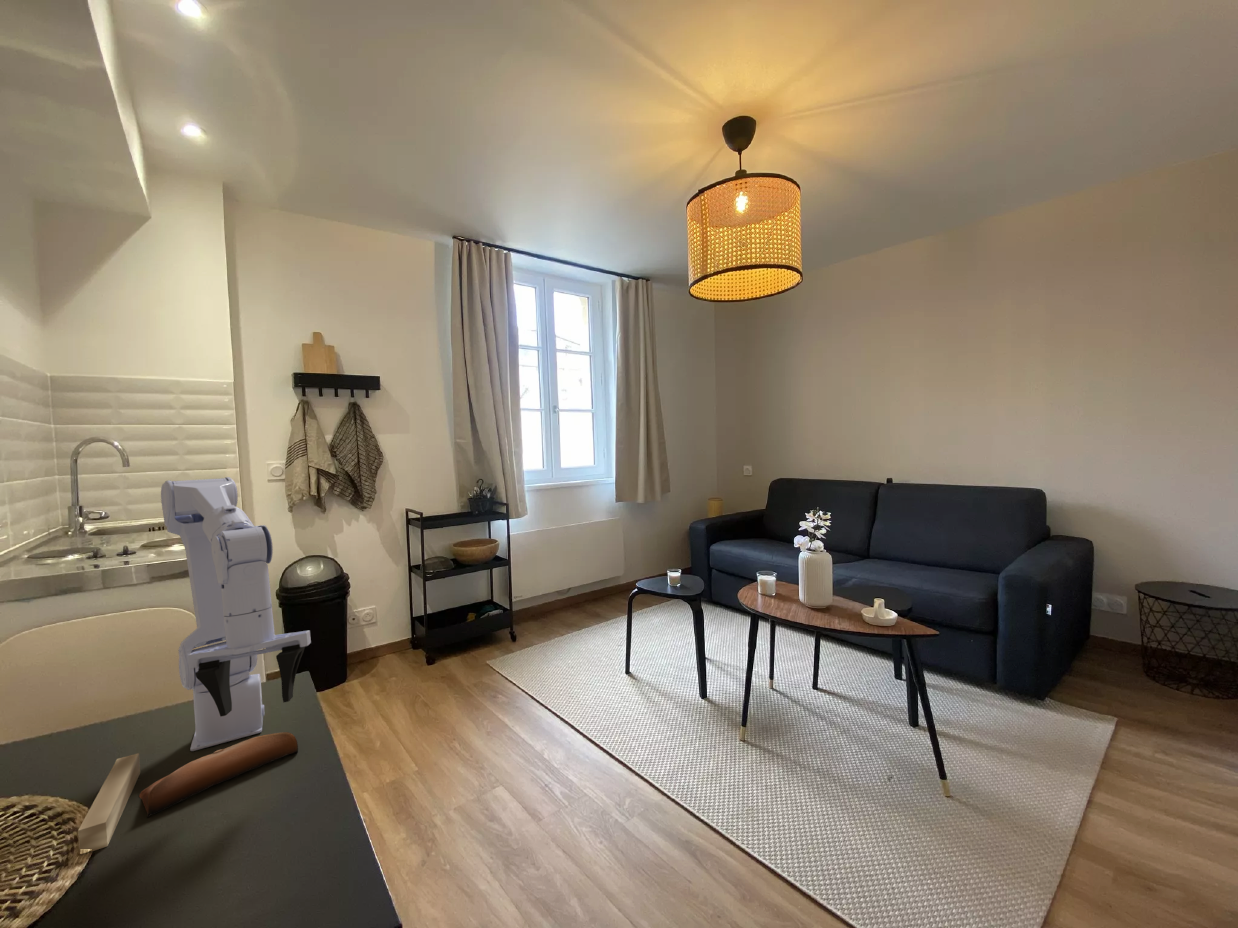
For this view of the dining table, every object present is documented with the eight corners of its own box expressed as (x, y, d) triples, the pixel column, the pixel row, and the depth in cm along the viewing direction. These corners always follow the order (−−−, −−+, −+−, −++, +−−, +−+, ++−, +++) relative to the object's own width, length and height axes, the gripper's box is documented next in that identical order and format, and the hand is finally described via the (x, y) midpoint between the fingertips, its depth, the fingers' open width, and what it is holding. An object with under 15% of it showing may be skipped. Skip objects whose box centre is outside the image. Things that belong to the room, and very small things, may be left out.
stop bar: (140, 772, 78) (138, 752, 78) (107, 845, 63) (105, 821, 63) (118, 778, 77) (117, 758, 77) (79, 855, 62) (78, 830, 62)
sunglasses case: (279, 735, 87) (285, 708, 85) (294, 769, 83) (301, 741, 81) (133, 794, 73) (136, 763, 71) (144, 838, 69) (147, 806, 67)
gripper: (173, 627, 69) (183, 731, 69) (297, 606, 74) (307, 703, 73) (198, 617, 76) (206, 711, 75) (310, 598, 80) (319, 687, 80)
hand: (257, 706), depth 75 cm, fingers open, 7 cm apart
